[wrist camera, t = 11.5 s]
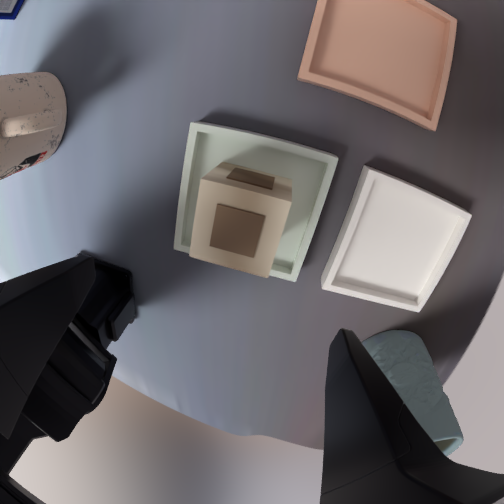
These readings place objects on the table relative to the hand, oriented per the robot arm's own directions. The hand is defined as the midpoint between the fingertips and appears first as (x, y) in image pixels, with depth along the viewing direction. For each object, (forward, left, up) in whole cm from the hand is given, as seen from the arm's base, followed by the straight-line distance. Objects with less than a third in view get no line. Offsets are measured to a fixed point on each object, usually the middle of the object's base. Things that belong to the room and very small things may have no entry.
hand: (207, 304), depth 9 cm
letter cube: (0, 0, -10) cm, 10 cm away
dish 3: (+11, 0, -11) cm, 15 cm away
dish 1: (0, 0, -11) cm, 11 cm away
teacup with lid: (-19, +4, -11) cm, 23 cm away
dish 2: (+5, +13, -11) cm, 18 cm away
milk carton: (-31, +20, -11) cm, 39 cm away
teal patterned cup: (+17, -12, -11) cm, 24 cm away
